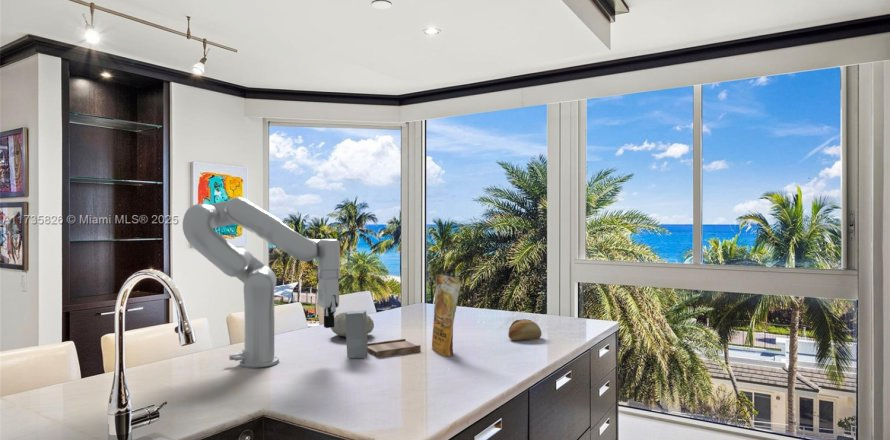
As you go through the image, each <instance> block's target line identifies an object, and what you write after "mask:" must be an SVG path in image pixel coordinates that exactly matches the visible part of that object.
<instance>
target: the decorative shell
mask: <svg viewBox="0 0 890 440" xmlns="http://www.w3.org/2000/svg"><path fill="white" fill-rule="evenodd" d="M347 312H348V311H345V312H341V313H338V314H337V315H336V316H334V327H331V328H330V330H331V331H332V333H334V334H335V335H337V336H339V337H344V338H346V313H347ZM366 320H367V335H368V334H370V333H372V332H373V330H374V328H375V325H374V324H375V323H374V320H373V319H372V318H371V316H369V315H367V314H366Z"/></svg>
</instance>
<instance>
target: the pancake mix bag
mask: <svg viewBox="0 0 890 440" xmlns="http://www.w3.org/2000/svg"><path fill="white" fill-rule="evenodd" d="M434 276H435V293H434V307H433V308H434V309H433V314H434V315H433V324H432V325H433V327H432V338H431V339H432V340H431V349H432V350H433V351H434V352H435V353H438V354H439V355H440V356H443V357H449V358H450V357H453V356H454V349H453V347H454V342H453V338H454V323H455V316H456V312H457V311H456V310H457V305H458V300H459V296H460V293H461V289H462V280H461V279H460V278H458V277H453V276H450V275H447V274H440V273H437V274H435V275H434Z"/></svg>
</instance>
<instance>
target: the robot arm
mask: <svg viewBox="0 0 890 440" xmlns="http://www.w3.org/2000/svg"><path fill="white" fill-rule="evenodd" d="M232 225H238V226H239V227H242V228H244V229H245V230H247V231H248V232H250V233H252V234H253V235H255V236H257V237H259V238H260V239H262V240H263V241H265V242H267V243H269V244H271V245H272V246H274V247H276V248H277V249H279V250H281V251H283V252H284V253H286V254H288V255H290V256H291V257H293V258H294V259H297V260H299V261H300V262H310V261H312V260H314V259H317V280H318V285H317V302H316V303H317V306H319V307H321V308H322V309H323V327H324V328H325V329H331V327H334V318H335V314H336V311H337V309H336V308H338V307H339V306H340V289H339V288H340V286H339V279H341V259H340V258H341V242H340V241H339V240H338V239H336V238H322V239H314V238H307V237H305V236H304V235H302V234H300V233H299V232H298V231H296V230H293V229H292V228H290V227H289V226H287V224H285V223H284V222H282V220H281V219H279V218H278V217H276V216H275V215H273V214H271V213H270V212H268V211H266V210H264V209H263V208H262V207H259V206H258V205H256V204H254V203H253V202H251V201H250V200H248V199H246V198H244V197H240V196H236V197H233V198H231V199H229V200H227V201H220V202H214V203H209V204H206V203H196V204H192V205H191V206H190V207H188V209H187V210H186V211H185V213H184V215H183V219H182V232H183V235H184V237H185V239H186V240H187V241H188V243H189V245H190V246H191V247H192V248H194V250H196V251H197V252H198V253H199V254H200V255H202V256H203V257H205V259H207V260H208V261H209V262H210V263H211V264H213V266H215V267H216V268H217V269H219V270H220V271H221V272H222V273H223V274H225V275H226V276H228V277H231V278H236V279H238V280H239V281H240V282H242V283H243V299H244V301H243V302H244V305H243V306H244V349H242V350H241V352H239V353H232V354H229V355H228V359H229V361H235V362H236V361H239V362H238V363H239V366H240V367H243V368H248V369H249V368H250V369H252V368H253V369H256V368H258V369H260V368H267V367H271V366H274V365H277V364H278V363H279V362H280V357H278V356H276V355H275V287H276V285H277V276H276V274H275V272H274V271H273V270H272V269H271V268H270V267H269V266H267V265H266V264H265V263H263V261H261V260H260V259H258V258H257V257H256V256H255V255H254V254H252V253H251V252H250V251H248V250H247V249H245V248H243V247H236V246H234V245H233V244H232V243H231V242H230V241H228V240H226V238H225V237H224V236H222V235H221V234H219V232H217V231H216V230H215V229H216V228H221V227H226V226H232Z"/></svg>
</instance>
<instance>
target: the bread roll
mask: <svg viewBox="0 0 890 440" xmlns="http://www.w3.org/2000/svg"><path fill="white" fill-rule="evenodd" d="M507 334H508V335H507V336H508V338H509V339H510V340H512V341H520V340H521V341H523V340H537V339H540V338H541V337H542V330H541V327H540V326H539V324H538V323H536V322H535V321H533V320H531V319H528V318H527V319H525V318H524V319H523V318H522V319H516V320H515V321H513V322H512V323H511V325H510V327H509V328H508V333H507Z"/></svg>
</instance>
